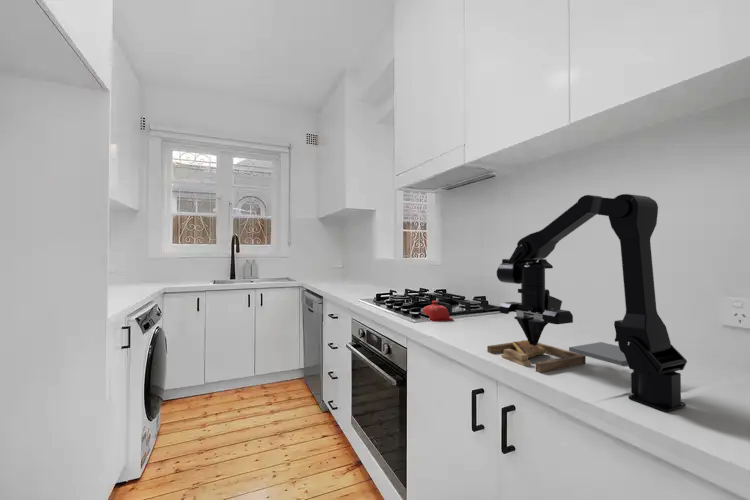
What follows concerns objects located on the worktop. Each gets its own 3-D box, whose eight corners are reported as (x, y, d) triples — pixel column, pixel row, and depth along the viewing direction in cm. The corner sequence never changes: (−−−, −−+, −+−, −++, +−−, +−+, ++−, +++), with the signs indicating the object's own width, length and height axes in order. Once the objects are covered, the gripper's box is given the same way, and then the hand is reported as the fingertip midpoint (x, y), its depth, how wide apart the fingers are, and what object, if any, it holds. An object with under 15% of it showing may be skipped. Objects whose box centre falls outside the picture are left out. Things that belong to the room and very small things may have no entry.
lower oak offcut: (530, 367, 85) (530, 361, 85) (523, 368, 84) (523, 362, 84) (508, 359, 92) (508, 353, 92) (501, 360, 91) (501, 354, 91)
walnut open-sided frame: (585, 363, 86) (585, 355, 86) (540, 372, 80) (540, 364, 80) (529, 346, 102) (529, 340, 102) (487, 353, 95) (487, 346, 95)
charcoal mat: (654, 358, 90) (654, 354, 91) (621, 365, 85) (621, 361, 85) (601, 345, 103) (601, 342, 103) (569, 350, 98) (569, 347, 98)
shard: (524, 360, 87) (525, 353, 87) (498, 349, 93) (499, 342, 93) (546, 354, 94) (547, 348, 94) (520, 344, 100) (521, 338, 100)
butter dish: (415, 319, 145) (415, 299, 145) (439, 317, 149) (439, 298, 149) (430, 325, 134) (430, 303, 134) (455, 322, 138) (455, 301, 138)
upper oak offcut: (527, 360, 86) (527, 354, 86) (521, 361, 85) (521, 355, 85) (509, 354, 91) (509, 348, 91) (503, 355, 90) (503, 349, 90)
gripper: (587, 287, 86) (588, 350, 85) (526, 281, 103) (527, 334, 102) (556, 289, 81) (556, 356, 81) (498, 283, 98) (498, 338, 98)
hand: (533, 345), depth 91 cm, fingers closed
